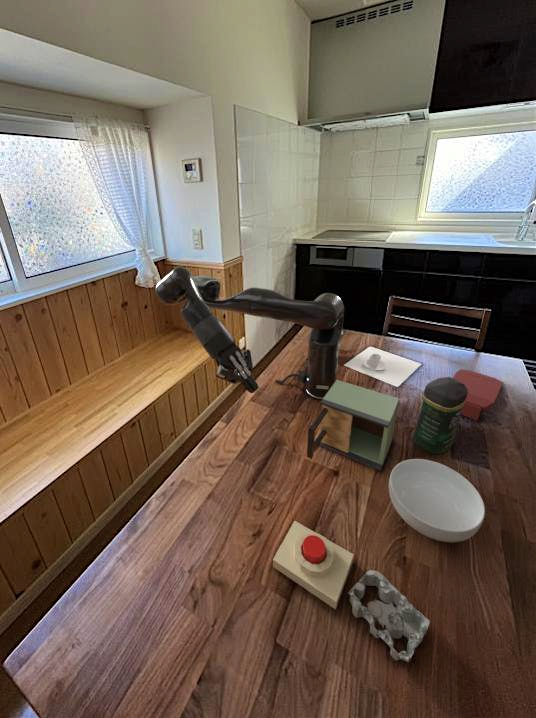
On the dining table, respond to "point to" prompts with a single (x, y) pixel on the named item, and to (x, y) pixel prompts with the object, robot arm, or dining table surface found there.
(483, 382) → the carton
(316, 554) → the button
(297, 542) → the switch box
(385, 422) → the cupboard
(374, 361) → the teacup and saucer
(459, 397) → the coffee jar
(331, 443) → the door
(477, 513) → the cereal bowl
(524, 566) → the dining table surface
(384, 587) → the egg carton
